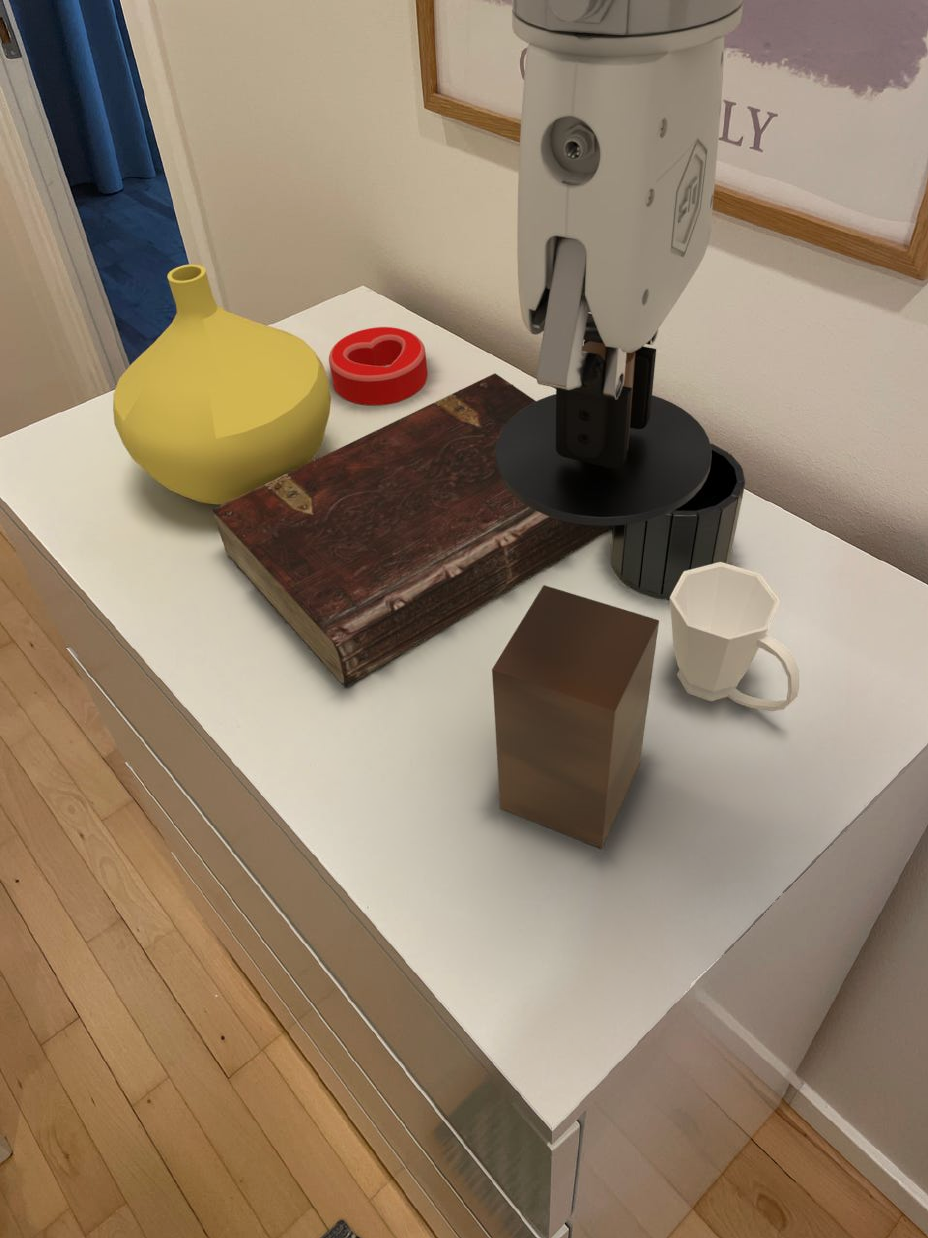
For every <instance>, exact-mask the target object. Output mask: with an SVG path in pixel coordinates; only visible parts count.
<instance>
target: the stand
mask: <svg viewBox="0 0 928 1238" xmlns="http://www.w3.org/2000/svg"><path fill="white" fill-rule="evenodd" d="M659 626H660V620H659V619H658V618H657V619H656V618H653V617H650V616H647V615H643V614H640V613H636V612H634V611H630V610H628V609H625V608H624V609H623V608H620V607H617V606H614V605H610V604H608V603H604V602H601V601H597V600H594V599H590V598H587V597H585V596H581V595H578V594H574V593H571V592H568V591H565V590H561V589H558V588H555V587H553V586H552V587H551V586H548V585H545V584H543V585H542V586H541V588H540V590H539V592H538V594H537V595H536V597H535V598H534V600H533V602H532V603H531V604H530V607H529V608H528V610H527V612H526V613H525V615H524V616H523V618H522V619H521V621H520V623H519V624H518V626H517V628H516V629H515V631H514V632H513V634H512V636H511V638H510V639H509V640H508V643H506V645H505V647H504V649H503V650H502V652H501V654H500V656H499V657H498V659H497V660H496V662H495V664H493V665H494V666H493V667H492V669H491V677H492V678H491V679H492V695H493V711H494V727H495V746H496V748H495V749H496V762H497V775H498V776H497V780H498V781H497V782H498V796H499V809H502V810H504V811H506V812H508V813H511V814H514V815H517V816H519V817H521V818H524V819H526V820H528V821H531V822H534V823H536V824H538V825H541V826H543V827H546V828H548V829H551V830H552V831H553V830H554V831H556V832H559V833H561V834H564V835H567V836H569V837H571V838H573V839H576V840H579V841H581V842H584V843H586V844H589V845H591V846H594V847H596V848H599V849H603V847H604V845H605V843H606V841H607V838H608V836H609V834H610V831H611V829H612V827H613V826H614V825H613V824H614V823H615V820H616V818H617V815H618V813H619V812H620V809H621V807H622V805H623V802H624V800H625V798H626V795H627V793H628V792H629V788H630V786H631V784H632V782H633V780H634V777H635V775H636V773H637V771H638V768H639V766H640V763H641V757H642V751H643V750H642V749H643V742H644V736H645V729H646V720H647V713H648V706H649V699H650V693H651V692H650V691H651V684H652V677H653V670H654V663H655V656H656V655H655V654H656V648H657V639H658V633H659Z"/></svg>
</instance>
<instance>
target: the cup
mask: <svg viewBox="0 0 928 1238" xmlns="http://www.w3.org/2000/svg"><path fill="white" fill-rule="evenodd" d="M780 603H781V600H780V598H779V597H778V596H777V595H776V593H775V592H774V590H773V589H772V588H771V587H770V585H769V584H768V582H767V581H766V580H765V579H764V577H763V576H762V574H761V573H759V572H755V571H752V570H749V569H746V568H743V567H739V566H736V565H732V564H730V563H729V564H726V563H723V562H718V563H714V564H710V565H706V566H703V567H699V568H695V569H691V570H687V571H684V572H683V574H682V576H681V577H680V579H679V581H678V583H677V585H676V587H675V589H674V590H673V592H672V594H671V596H670V599H669V608H670V618H671V635H672V647H673V651H674V656H675V659H676V664H677V666H678V671H677V675H676V677H677V678H678V680H679V682H680V683H681V685H682V686H683V688H684V690H685V691H686V693H687V694H688V695H691V696H694V697H697V698H700V699H703V700H705V701H708V702H715V701H717V700H718V701H719V700H721V699H725V698H728V699H730V700H732V701H733V702H734V703H736V704H738V705H742V706H744V707H747V708H750V709H756V710H763V711H770V712H776V711H783V710H785V709H786V708H787V707H788V706H789V705H790V704H792V702H793V701H795V699H797V697H798V695H799V689H800V670H799V668H798V665H797V662H796V660H795V658H794V657H793V654H792V653H791V652H790V651H789V650H788V649H787V648H786V647H785V645H783V644H782V643H781V642H779V641H778V640H777V639H775V638H774V636H771V635H769V634H767V632H768V631H769V628H770V626H771V624H772V621H773V619H774V617H775V614H776V612H777V610H778V607H779V605H780ZM759 649H762V650H764V651H766V652H767V653H769V654H771V655H773V656H775V657H776V659H778V661H779V662H780V664H781V665H782V668H783V670H784V673H785V675H786V677H787V693H786V699H784V700H773V699H764V698H758V697H755V696H751V695H748V694H746V693H743V692H742V691H740V690H738V689H737V687H738V684H739V683H740V682H741V681H742V679H743V677H745V675H746V673H747V672H748V671H749V669H750V667H751V664H752V663H753V660H754V658H755V656H756V655H757V652H758V650H759Z"/></svg>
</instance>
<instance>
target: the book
mask: <svg viewBox="0 0 928 1238" xmlns="http://www.w3.org/2000/svg"><path fill="white" fill-rule="evenodd" d="M536 401H537V400H535V399H534V398H533V397H531V396H529V395H528V394H527V393H525V392H524V391H522V390H520V389H519V388H518V387H516V386H515V385H513V384H512V383H510V382H509V381H507V380H506V379H505V378H503V377H502V376H500V375H499V374H498V373H496V372H495V373H493V374H490V375H488V376H486V377H484V378H482V379H480V380H478V381H476V382H474V383H472V384H470V385H467V386H466V387H464V388H461V389H459V390H457V391H455V392H452V393H450V394H449V395H446V396H445V397H443V398H440V399H438V400H436V401H435V402H433V403H430V404H428V405H426V406H424V407H421V408H420V409H418V410H415V411H414V412H411V413H410V414H408V415H405V416H403V417H401V418H399V419H397V420H395V421H393V422H391V423H389V424H387V425H385V426H383V427H380V428H379V429H376V430H375V431H372V432H370V433H368V434H365V435H364V436H362V437H360V438H358V439H355V440H353V441H352V442H350V443H348V444H345V445H343V446H341V447H339V448H337V449H335V450H333V451H331V452H329V453H327V454H325V455H323V456H320V457H318V458H316V459H314V460H311V462H310V463H308V464H306V465H304V466H302V467H300V468H297V469H295V470H293V471H291V472H289V473H287V474H285V475H283V476H281V477H279V478H277V479H275V480H273V481H271V482H268V483H266V484H264V485H262V486H260V487H258V488H256V489H254V490H252V491H250V492H248V493H246V494H244V495H242V496H239V497H237V498H235V499H233V500H231V501H229V502H227V503H225V504H223V505H219V506H216V507H214V508H212V510H211V511H212V514H213V517H214V520H215V524H216V526H217V530H218V532H219V535H220V538H221V541H222V544H223V547H224V551H225V553H226V554H227V555H228V556H229V557H230V558H231V560H232V561H233V562H234V563H235V564H236V565H237V566H238V567H239V569H241V571H242V572H243V573H244V574H245V575H246V577H247V578H248V579H249V580H250V581H251V582H252V583H253V585H255V586H256V588H257V589H258V590H259V591H260V592H261V594H262V595H263V596H264V597H265V598H266V599H267V601H269V603H270V604H272V606H273V607H274V608H275V610H276V611H277V612H278V613H279V614H280V615H281V616H282V617H283V619H284V620H285V621H286V622H287V624H289V626H291V627H292V629H293V630H294V631H295V633H297V634H298V636H299V637H300V638H301V639H302V641H304V643H306V645H307V646H308V647H309V648H310V649H311V650H312V652H313V653H314V654H315V655H316V656H317V657H318V658H319V660H320V661H321V662H322V663H323V664H324V666H326V668H328V669H329V671H330V672H331V673H332V674H333V675H334V677H336V679H337V680H338V681H339V682H340V684H342V685H343V687H344V688H347V687H348V686H350V685H352V684H353V683H355V682H357V681H358V680H360V679H362V678H364V677H365V676H368V675H369V674H370V673H372V672H374V671H376V670H377V669H379V668H380V667H382V666H383V665H386V664H387V663H389V662H391V661H392V660H393V659H395V658H397V657H398V656H400V655H402V654H404V653H405V652H407V651H408V650H409V651H410V649H411V648H413V647H415V646H417V645H419V644H420V643H422V642H423V641H425V640H427V639H429V638H431V637H432V636H433V635H435V634H437V633H438V632H440V631H442V630H444V629H445V628H447V627H449V626H451V625H452V624H454V623H456V622H457V621H459V620H460V619H463V618H464V617H466V616H467V615H468V614H470V613H472V612H474V611H475V610H477V609H479V608H480V607H482V606H483V605H485V604H487V603H489V602H490V601H492V600H493V599H495V598H497V597H498V596H501V595H502V594H504V593H505V592H508V591H509V590H511V589H512V588H514V587H515V586H517V585H520V584H521V583H522V582H524V581H526V580H527V579H529V578H531V577H532V576H534V575H536V574H537V573H539V572H540V571H543V570H544V569H545V568H547V567H549V566H550V565H552V564H555V562H557V561H559V560H560V559H562V558H564V557H566V556H567V555H569V554H571V553H572V552H574V551H575V550H577V549H580V547H582V546H585V545H586V544H587V543H589V542H590V541H592V540H594V539H595V538H597V537H599V536H600V535H603V534H604V533H605V532H607V531H609V530H612V526H595V525H584V524H576V523H571V522H567V521H562V520H559V519H556V518H552V517H549V516H547V515H544V514H542V513H540V512H537V511H535V510H534V509H532V508H530V507H528V506H527V505H525V504H524V503H522V502H521V501H520V500H518V499H517V498H516V497H515V496H514V495H513V494H512V493H511V492H510V491H509V490H508V489H507V488H506V486H505V485H504V484H503V482H502V480H501V478H500V476H499V474H498V471H497V467H496V455H495V449H496V443H497V440H498V437H499V435H500V432H501V431H502V429H503V428H504V426H505V425H506V424H507V422H508V421H509V420H510V419H511V418H512V417H513V416H514V415H515V414H517V413H518V412H519V411H520V410H522V409H524V408H525V407H527V406H528V405H530V404H532V403H534V402H536Z"/></svg>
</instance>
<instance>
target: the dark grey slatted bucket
mask: <svg viewBox="0 0 928 1238" xmlns="http://www.w3.org/2000/svg"><path fill="white" fill-rule="evenodd" d="M710 445H711V451H712V458H711V465H710V471H709V474H708V477H707V479H706V481H705V483H704V484H703V486H702V487H701V489H700V490H699V491H698V492H697V493H696V494H695V495H694V497H692V498H691V499H690V500H689V501H687V502H686V503H685V504H683V505H682V506H680V507H679V508H677V509H675V510H673V511H671V512H669V513H667V514H665V515H662V516H660V517H657V518H654V519H651V520H647V521H643V522H638V523H633V524H626V525H614V526H612V528H611V539H610V562H611V563H610V564H611V565H612V568H613V570H614V572H615V574H616V575H617V577H618V578H619V579H620V580H621V581H622V582H623V583H624V584H625V585H627V586H628V587H629V588H631V589H633V590H634V591H636V592H638V593H640V594H643V595H646V596H648V597H652V598H657V599H661V600H662V599H663V600H670V596H671V594H672V592H673V590H674V589H675V587H676V585H677V583H678V581H679V579H680V577H681V576H682V574H683V572H684V571H687V570H691V569H695V568H699V567H703V566H706V565H710V564H714V563H718V562H723V563H726V564H729V565H730V560H731V556H732V550H733V545H734V541H735V535H736V532H737V525H738V521H739V517H740V516H739V515H740V511H741V508H742V507H741V506H742V501H743V497H744V491H745V486H746V479H745V474H744V469H743V466H742V465H741V464H740V462H738V461H737V459H736V458H735V457H734V456H733V455H732V454H731V453H730V452H728V451H727V450H725V449H723V448H721V447H719V446H717V445H715V444H713V443H710Z"/></svg>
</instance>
